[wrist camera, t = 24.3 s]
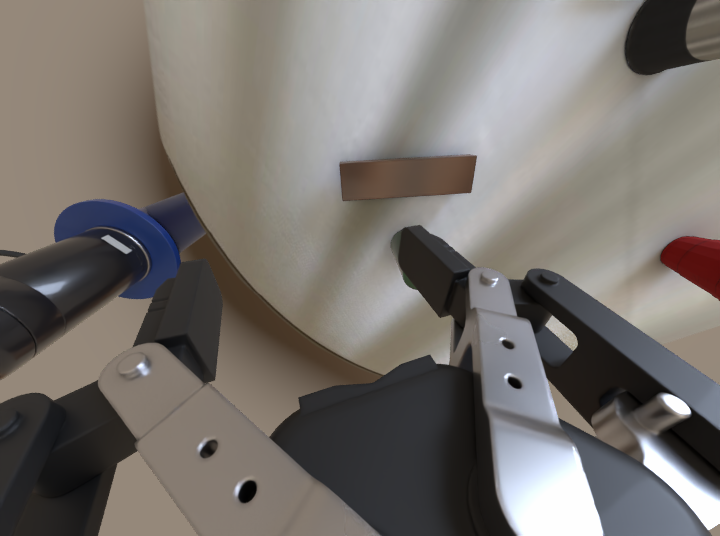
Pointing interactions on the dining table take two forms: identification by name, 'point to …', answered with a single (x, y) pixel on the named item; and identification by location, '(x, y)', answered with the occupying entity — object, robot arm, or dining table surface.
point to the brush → (407, 177)
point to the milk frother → (673, 35)
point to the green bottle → (395, 250)
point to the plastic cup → (695, 261)
